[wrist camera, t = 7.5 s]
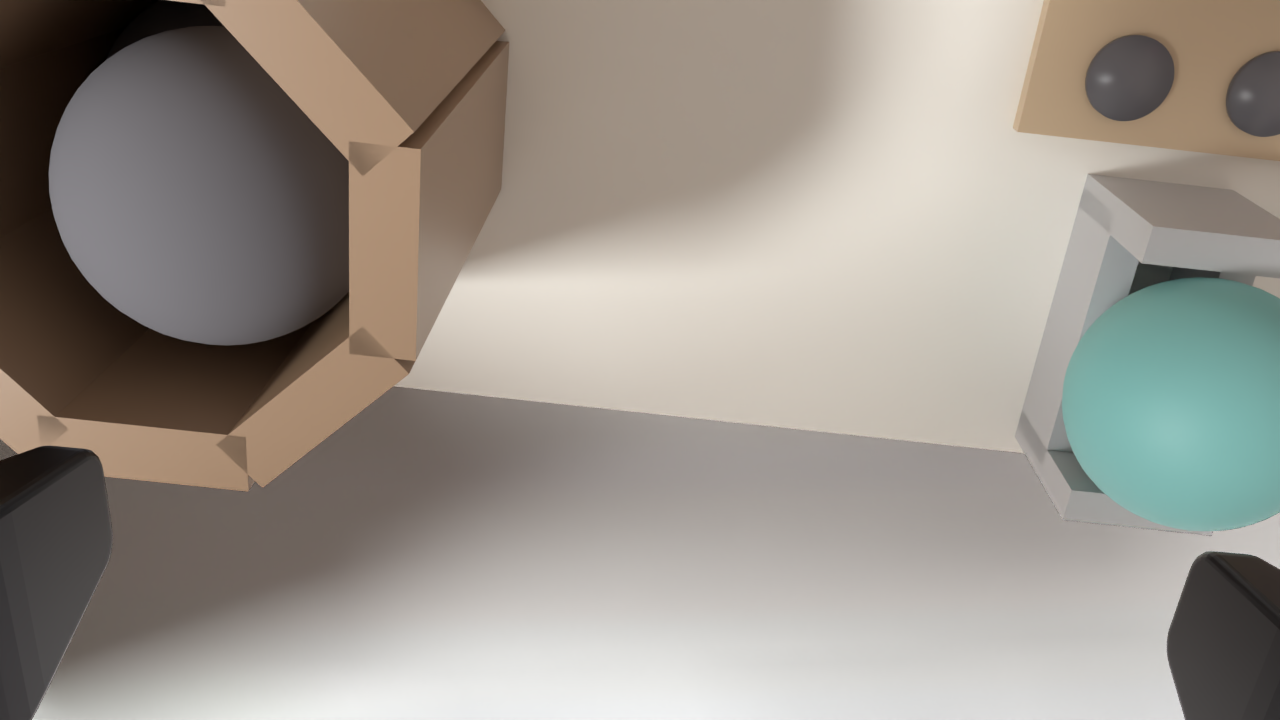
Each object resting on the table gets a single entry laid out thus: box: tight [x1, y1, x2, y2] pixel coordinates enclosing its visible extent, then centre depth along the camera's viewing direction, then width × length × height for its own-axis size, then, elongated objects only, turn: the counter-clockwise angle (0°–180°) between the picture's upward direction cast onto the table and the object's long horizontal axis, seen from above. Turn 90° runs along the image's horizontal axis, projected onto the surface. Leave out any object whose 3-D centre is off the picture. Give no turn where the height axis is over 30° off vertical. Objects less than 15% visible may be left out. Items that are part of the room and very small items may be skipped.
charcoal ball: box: [49, 26, 349, 345], centre depth 14 cm, size 4×4×4 cm
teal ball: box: [1062, 277, 1280, 531], centre depth 18 cm, size 4×4×4 cm
